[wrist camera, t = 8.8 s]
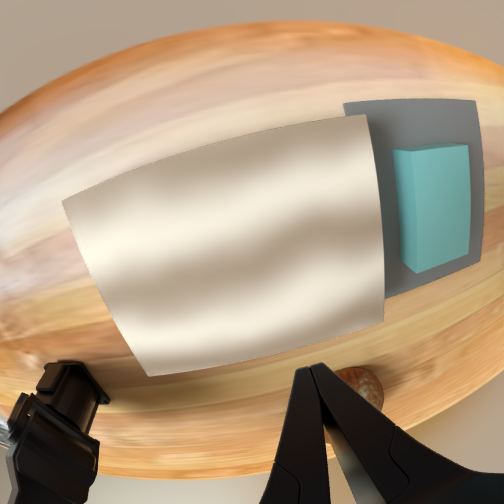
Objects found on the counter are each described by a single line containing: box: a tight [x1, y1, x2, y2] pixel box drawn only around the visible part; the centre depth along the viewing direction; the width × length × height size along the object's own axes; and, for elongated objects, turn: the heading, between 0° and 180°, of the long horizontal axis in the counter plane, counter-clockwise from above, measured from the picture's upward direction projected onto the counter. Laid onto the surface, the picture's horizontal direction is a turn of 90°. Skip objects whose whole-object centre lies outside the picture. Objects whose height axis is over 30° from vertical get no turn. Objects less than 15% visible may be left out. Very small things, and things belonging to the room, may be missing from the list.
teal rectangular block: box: [392, 143, 471, 274], centre depth 18 cm, size 9×6×2 cm, turn 14°
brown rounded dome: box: [323, 368, 384, 444], centre depth 25 cm, size 10×10×8 cm
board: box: [62, 114, 385, 377], centre depth 18 cm, size 14×18×4 cm
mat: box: [343, 99, 484, 299], centre depth 19 cm, size 16×14×1 cm
